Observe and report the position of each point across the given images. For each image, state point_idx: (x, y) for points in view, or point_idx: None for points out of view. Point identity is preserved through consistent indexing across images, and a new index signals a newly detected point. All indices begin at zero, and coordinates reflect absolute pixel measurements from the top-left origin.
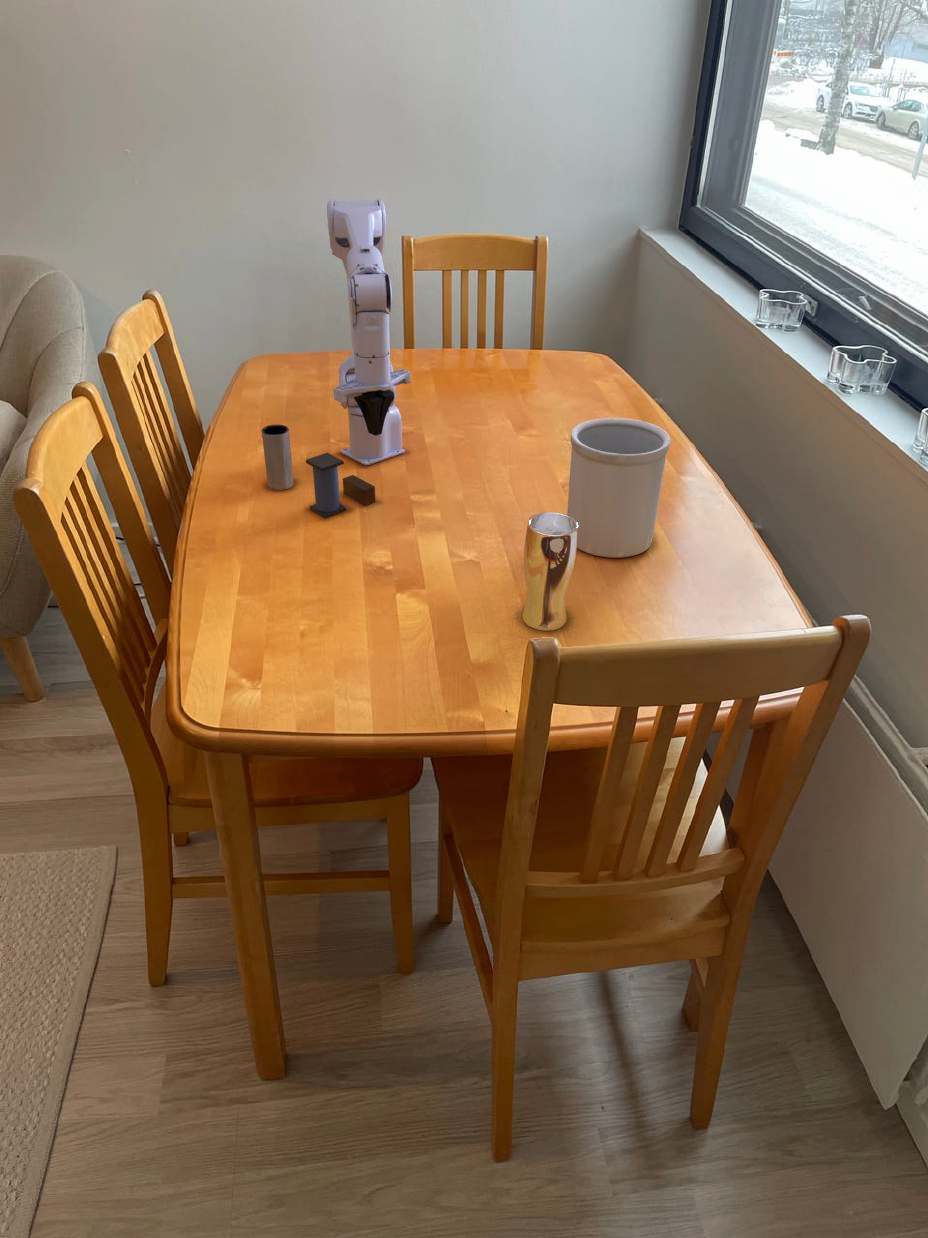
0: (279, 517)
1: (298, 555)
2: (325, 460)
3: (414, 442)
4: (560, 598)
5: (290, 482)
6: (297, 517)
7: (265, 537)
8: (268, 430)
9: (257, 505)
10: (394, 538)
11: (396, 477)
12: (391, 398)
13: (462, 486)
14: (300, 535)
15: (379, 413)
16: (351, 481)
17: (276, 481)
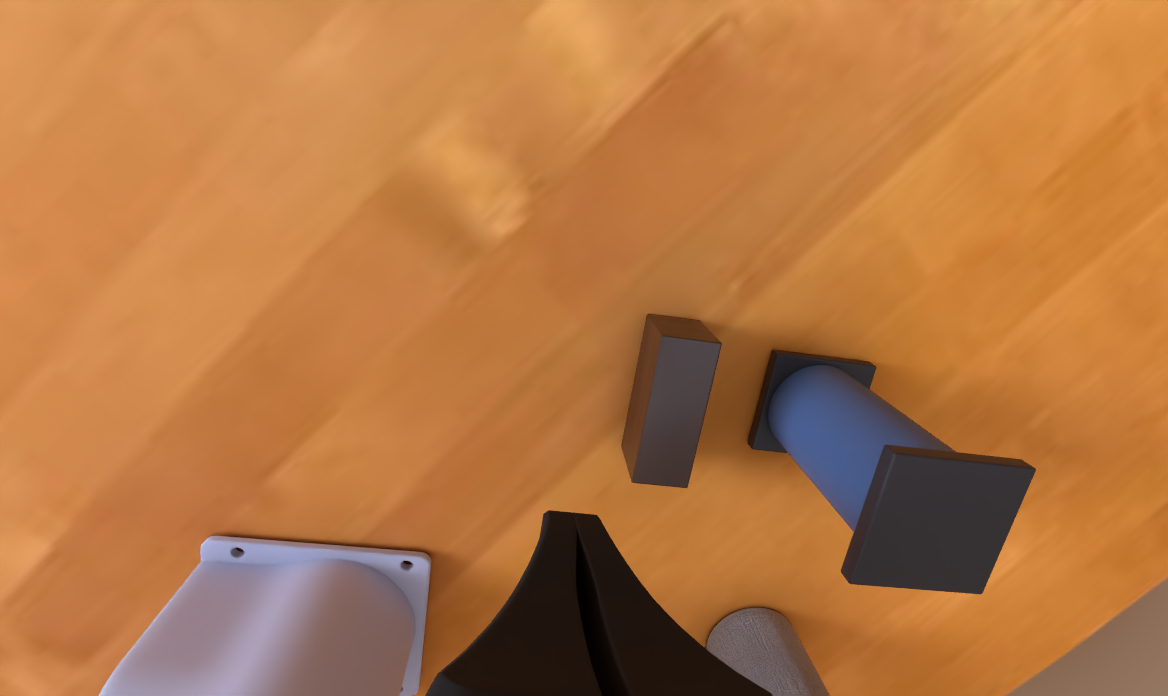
0: None
1: (1146, 234)
2: (942, 522)
3: (99, 575)
4: None
5: (755, 622)
6: None
7: (1081, 413)
8: None
9: None
10: (861, 16)
11: (411, 404)
12: (492, 678)
13: (240, 107)
14: (1017, 337)
15: (605, 611)
16: (688, 442)
17: (803, 648)
